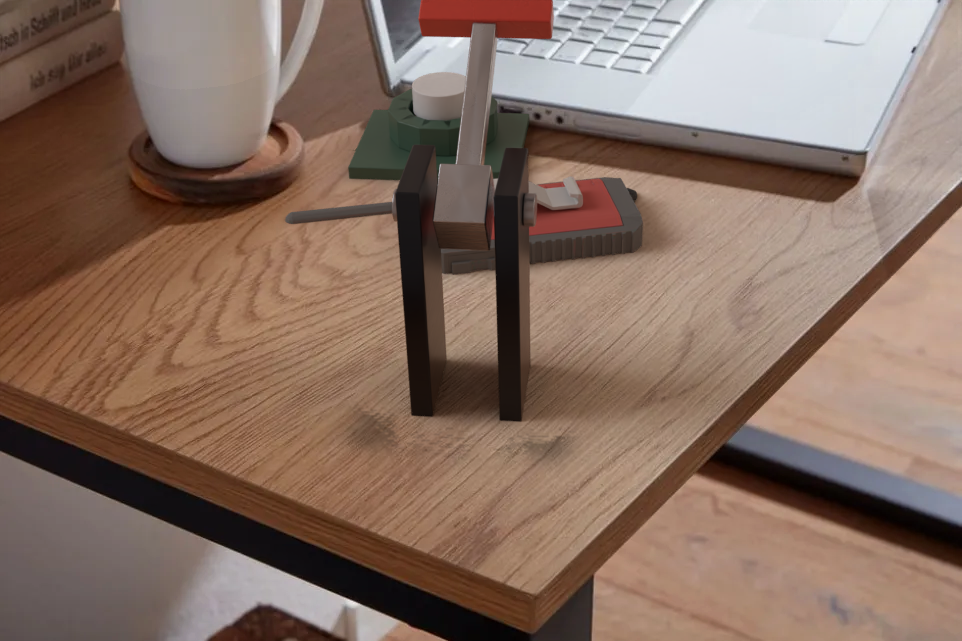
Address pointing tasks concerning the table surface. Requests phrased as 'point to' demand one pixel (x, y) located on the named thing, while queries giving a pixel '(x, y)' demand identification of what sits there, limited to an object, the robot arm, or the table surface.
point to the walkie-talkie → (541, 223)
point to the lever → (476, 108)
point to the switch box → (427, 139)
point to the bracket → (426, 285)
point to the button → (438, 96)
